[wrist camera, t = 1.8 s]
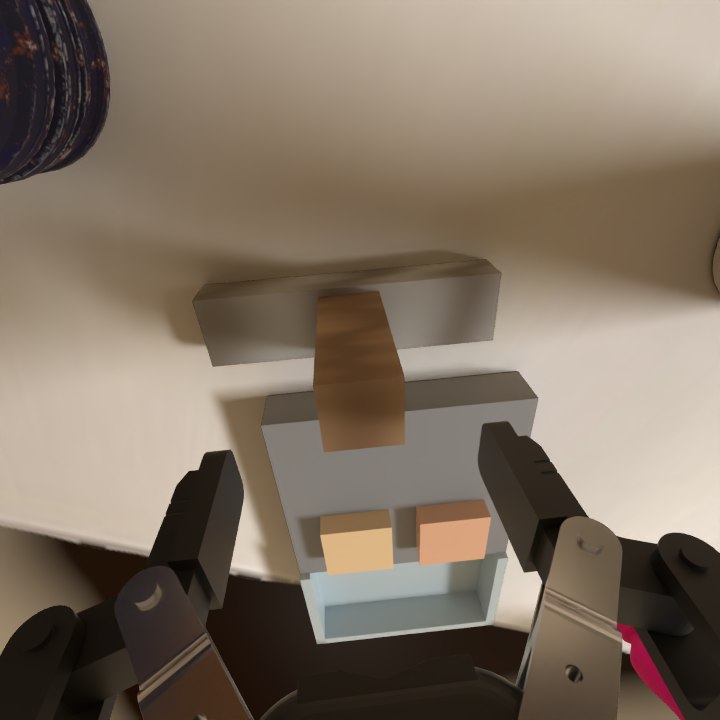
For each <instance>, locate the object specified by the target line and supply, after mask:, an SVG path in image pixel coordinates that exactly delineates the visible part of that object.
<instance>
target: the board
mask: <svg viewBox="0 0 720 720" xmlns="http://www.w3.org/2000/svg"><path fill="white" fill-rule="evenodd" d="M537 402H538V397H537V396H536V394H535V393H534V392H533V390H532V389H531V388H530V386H529V385H528V384H527V382H526V381H525V380H524V378H523V377H522V376H521V374H520V373H519V372H508V373H497V374H487V375H477V376H467V377H456V378H446V379H436V380H425V381H415V382H405V444H404V445H394V446H384V447H374V448H364V449H354V450H344V451H334V452H324V450H323V444H322V438H321V432H320V425H319V419H318V413H317V407H316V401H315V394H314V391H312V392H302V393H292V394H282V395H271V396H267V400H266V405H265V409H264V414H263V418H262V423H261V428H262V432H263V436H264V439H265V443H266V447H267V451H268V454H269V458H270V462H271V466H272V469H273V473H274V477H275V481H276V484H277V488H278V492H279V496H280V499H281V503H282V507H283V511H284V515H285V518H286V522H287V526H288V530H289V533H290V537H291V541H292V545H293V548H294V552H295V556H296V560H297V563H298V567H299V571H300V574H308V573H317V572H326V571H327V567H326V562H325V557H324V552H323V547H322V542H321V537H320V517H321V516H330V515H340V514H349V513H359V512H368V511H378V510H388V509H389V513H390V519H391V526H392V544H393V564H401V563H410V562H419V560H418V556H417V551H416V506H426V505H435V504H445V503H455V502H464V501H474V500H483V499H484V501H485V503H486V506H487V508H488V511H489V513H490V515H491V521H490V527H489V533H488V539H487V545H486V551H485V554H494V553H503V552H506V548H507V544H508V539H509V538H508V535H507V533H506V531H505V529H504V526H503V524H502V522H501V520H500V518H499V515H498V513H497V511H496V509H495V506H494V504H493V502H492V500H491V497H490V495H489V493H488V491H487V488H486V486H485V484H484V482H483V480H482V477H481V475H480V471H479V467H478V451H479V444H480V436H481V429H482V425H483V424H484V423H491V422H501V421H508V422H509V423H510V424H511V426H512V427H513V429H514V430H515V432H516V434H517V435H518V436H525V435H527V436H528V437H529V438H530V435H531V431H532V426H533V421H534V417H535V412H536V407H537Z"/></svg>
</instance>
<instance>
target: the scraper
mask: <svg viewBox="0 0 720 720" xmlns="http://www.w3.org/2000/svg"><path fill="white" fill-rule="evenodd" d="M500 279H501V272H499V271H498V270H497V269H496V268H495V267H494V266H493V265H492V264H491V263H489V262H488V261H487V260H474V261H463V262H452V263H441V264H430V265H419V266H408V267H397V268H385V269H374V270H363V271H352V272H341V273H330V274H319V275H308V276H296V277H285V278H274V279H263V280H252V281H241V282H230V283H219V284H207V285H204V286H203V287H202V289H201V290H200V291H199V293H198V294H197V295H196V297H195V298H194V299H193V301H192V302H193V305H194V308H195V311H196V315H197V318H198V321H199V324H200V327H201V330H202V334H203V337H204V340H205V343H206V346H207V349H208V353H209V356H210V359H211V362H212V365H213V367H215V366H225V365H236V364H247V363H257V362H268V361H278V360H289V359H299V358H310V357H315V361H314V379H313V388H314V394H315V401H316V407H317V413H318V419H319V425H320V432H321V438H322V444H323V450H324V452H334V451H344V450H354V449H364V448H374V447H384V446H394V445H404V444H405V379H404V374H403V370H402V367H401V364H400V360H399V357H398V353H397V350H396V349H405V348H416V347H426V346H437V345H448V344H458V343H469V342H479V341H490V340H493V335H494V327H495V319H496V311H497V303H498V295H499V287H500Z"/></svg>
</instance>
